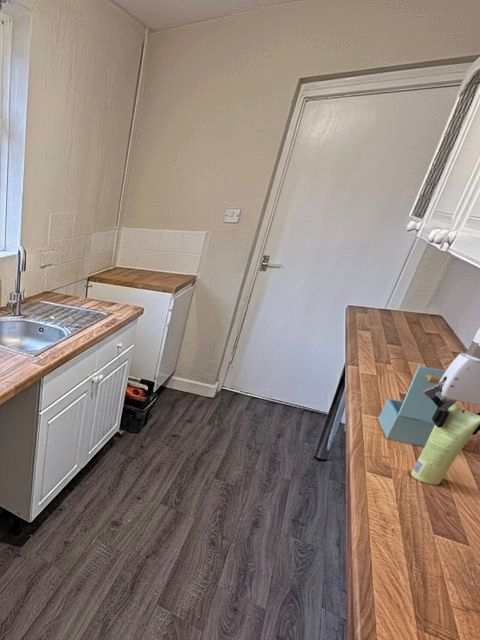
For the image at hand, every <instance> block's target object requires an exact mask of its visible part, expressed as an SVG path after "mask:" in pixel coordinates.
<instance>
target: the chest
mask: <svg viewBox="0 0 480 640" xmlns="http://www.w3.org/2000/svg"><path fill="white" fill-rule="evenodd" d="M403 402H404V400H398V399H392V398H387V399H386V401H385V403H384V405H383V407H382V409H381V410H382V411H381V412H380V414H379V416H378V418H377V420H378V423H379V424H380V427H381V430H382V431H383V433H384V435H385V437H386V439H388V440H392V441H397V442H401V443H405V444H409V445H414V446H419V447H423V448H424V447H425V445H426V443H427V441H428V439H429V437H430V435H431V432H432V430H433V428H434V426H435V423H434V422H429V421H424V420H419V419H415V418H410V417H405V416H400V415H398V413H399V411H400V409H401V406H402V404H403Z"/></svg>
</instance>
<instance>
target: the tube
mask: <svg viewBox="0 0 480 640" xmlns="http://www.w3.org/2000/svg"><path fill="white" fill-rule="evenodd" d="M448 412H449V415H448V417H447V419H446V421H445V422H444V424H443V426H442V427H437V426H436V425H435V426H434V428H433V430H432V432H431V435H430V437H429V439H428V441H427V443H426V445H425V447H423V449H422V451H421V452H420V455H419V457H418V459H417V461H416V462H415V463H414V466H413V468H412V470H411V471H410V475H411V476H412V477H413V478H414V479H416V480H417V481H420V482H422V483H426V484H429V485H433V486H434V485H435V486H437V485H440V483H442V481H443V479H444V477H445V476H446V474H447V473H448V471H449V470H450V468H451V466H452V465H453V464H454V461H455V460H456V459H457V457H458V455H459V454H460V452H461V451H462V450H463V448H464V447H465V445H466V444H467V442H468V441H469V439H470V438H471V437H472V435H474V434H473V432H474V431H475V430H476V428H477V427H478V426H479V424H480V416H479V415H476V413H474V412H472V411H469V410H467V409H464V408H462V407H460V406H457V405H455V404H453V405H452V406H451V407H450V408H449V409H448Z"/></svg>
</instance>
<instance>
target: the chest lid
mask: <svg viewBox="0 0 480 640" xmlns="http://www.w3.org/2000/svg"><path fill="white" fill-rule="evenodd" d="M446 370H447V369H440V368H433V367H427V366H421V365H418V367H417V369H416V371H415V374H414V376H413V377H412V381H411V382H410V385H409V388H408V390H407V392H406V395H405V397H404V400H403V404H402V406H401V409H400V411H399V413H398V415H400V416H405V417H410V418H415V419H419V420H424V421H429V422H434V421H432V417H433V415H434V413H435V412H436V410H437V408H438V407H437V405H436V404H435V403H434V402H433V401H432V400H431V399H430V398H429V397H428V396H427V395H425V393H424V392H423V390H424V389H427V388H429V387H431V386H433V385H435V384H437V383H439V381H440V379H441V378H442V376H443V375H444V373H445V372H446ZM435 394H436V395H437V396H438V397H439V398H440V399H441V398H442V397H443V396H442V395H441V392H439V391H438V392H436V393H435Z"/></svg>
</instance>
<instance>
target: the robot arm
mask: <svg viewBox="0 0 480 640" xmlns="http://www.w3.org/2000/svg"><path fill="white" fill-rule="evenodd" d="M445 370H446V372H445V373H444V375H443V376H442V378H441V379H440V381H439V383H437V384H435V385H433V386H431V387H429V388H427V389H424V390H423V392H424V393H425V395H427V396H428V397H429V398H430V399H431V400H432V401H433V402H434V403H435V404H436V405H437V407H438V408H437V410H436V412H435V413H434V415H433V417H432V421H434V423H435V425H436V426H437V427H442V426H443V424H444V422H445V421H446V419H447V417H448V415H449V412H448V409H449V408H450V407H451V406H452V405H455V404H456V402H461V403H466V404H471V405H477V406H480V326H479V328H478V329H477V331H476V333H475V335H474V337H473V339H472V340H471V342H470V345H469V346H468V349H467V350H466V352H461V353H459V354H457V356H456V357H455V358H454V359H453V360H452V362H451V363H450V364H449V366H448V367H447V369H445ZM438 391H439V392H441V395H442V396H443V397H442V398H441V399H440V398H439V397H438V396H437V395H436V394H435V393H436V392H438ZM475 414H476V415H479V416H480V411H478V413H477V412H476V413H475ZM479 431H480V424H479V426H478V427H477V428H476V430H475V431H474V432H473V434H472V435H474V436H476V435H477V434H478V432H479Z"/></svg>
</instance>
